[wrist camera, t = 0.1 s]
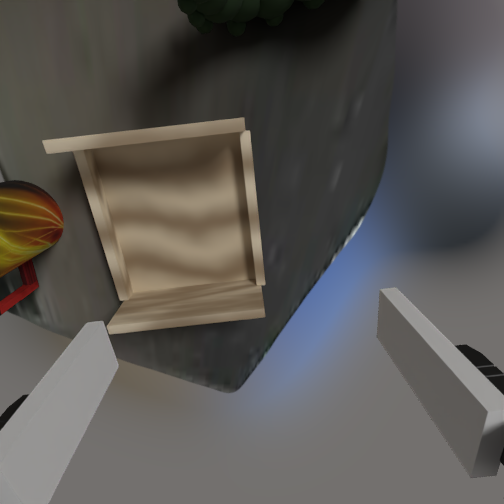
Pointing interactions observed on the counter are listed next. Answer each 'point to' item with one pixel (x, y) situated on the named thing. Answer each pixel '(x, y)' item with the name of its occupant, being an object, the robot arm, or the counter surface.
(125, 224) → the open wooden box
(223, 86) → the counter surface
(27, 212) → the mug
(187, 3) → the toy figurine
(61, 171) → the counter surface
